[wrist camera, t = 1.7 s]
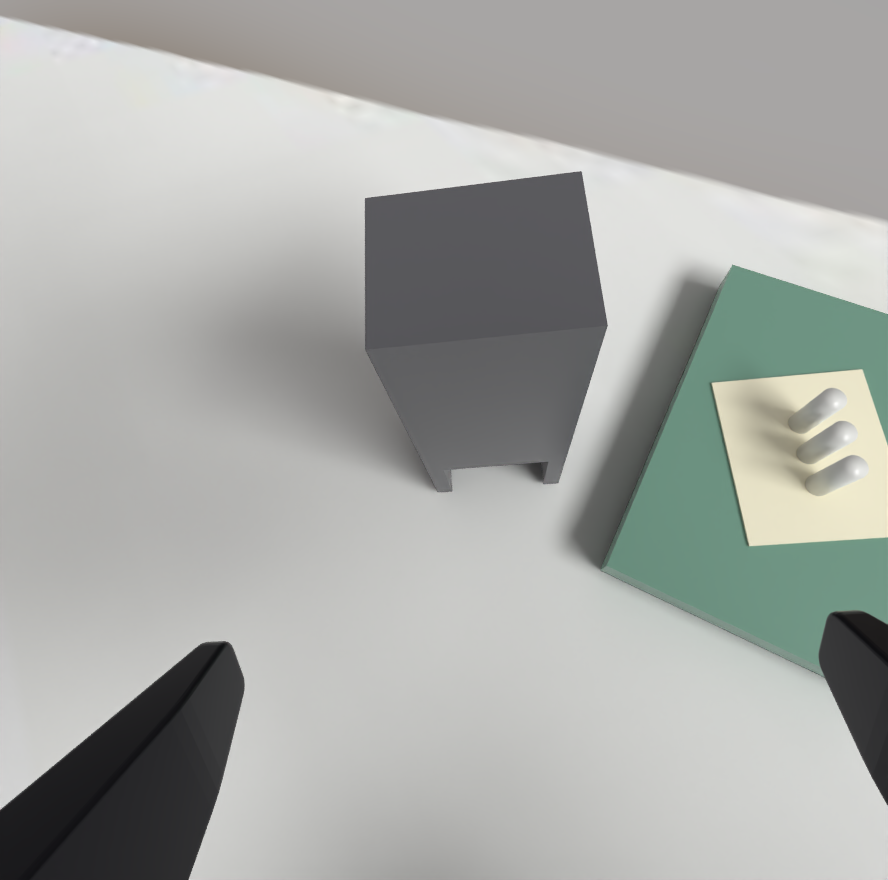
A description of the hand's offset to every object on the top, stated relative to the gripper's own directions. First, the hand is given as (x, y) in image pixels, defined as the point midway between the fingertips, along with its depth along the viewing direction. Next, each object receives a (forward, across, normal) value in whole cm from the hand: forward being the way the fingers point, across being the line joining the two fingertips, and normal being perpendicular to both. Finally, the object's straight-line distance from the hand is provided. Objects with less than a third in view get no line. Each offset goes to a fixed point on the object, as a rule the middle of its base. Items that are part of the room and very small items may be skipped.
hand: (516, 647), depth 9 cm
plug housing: (+15, 0, +4) cm, 16 cm away
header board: (+14, -11, +5) cm, 19 cm away
